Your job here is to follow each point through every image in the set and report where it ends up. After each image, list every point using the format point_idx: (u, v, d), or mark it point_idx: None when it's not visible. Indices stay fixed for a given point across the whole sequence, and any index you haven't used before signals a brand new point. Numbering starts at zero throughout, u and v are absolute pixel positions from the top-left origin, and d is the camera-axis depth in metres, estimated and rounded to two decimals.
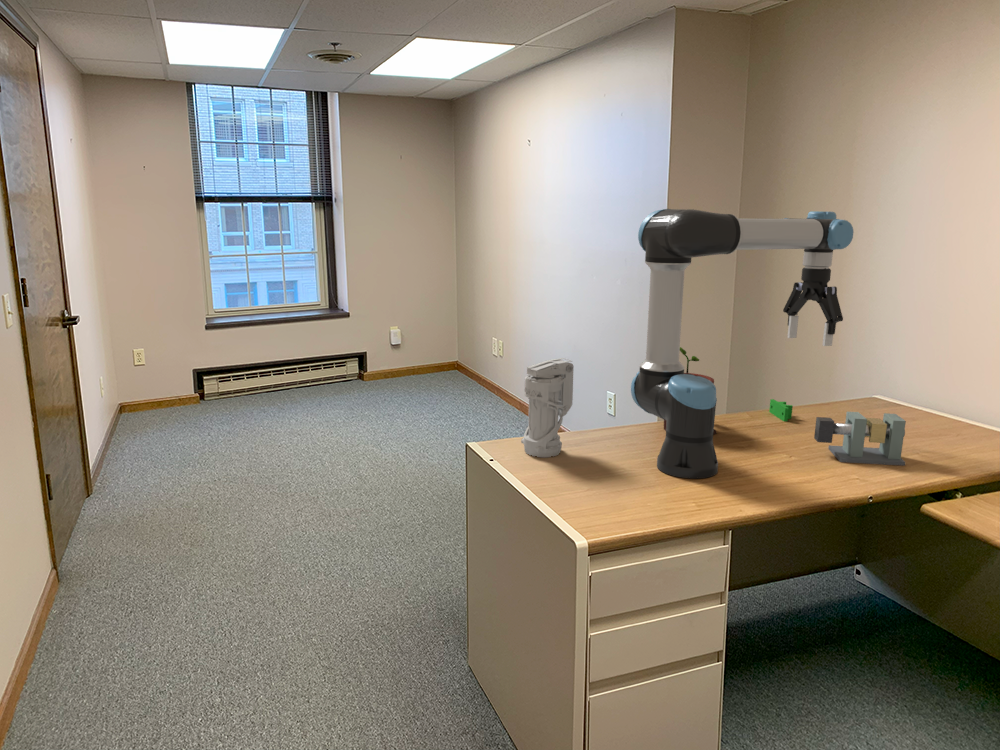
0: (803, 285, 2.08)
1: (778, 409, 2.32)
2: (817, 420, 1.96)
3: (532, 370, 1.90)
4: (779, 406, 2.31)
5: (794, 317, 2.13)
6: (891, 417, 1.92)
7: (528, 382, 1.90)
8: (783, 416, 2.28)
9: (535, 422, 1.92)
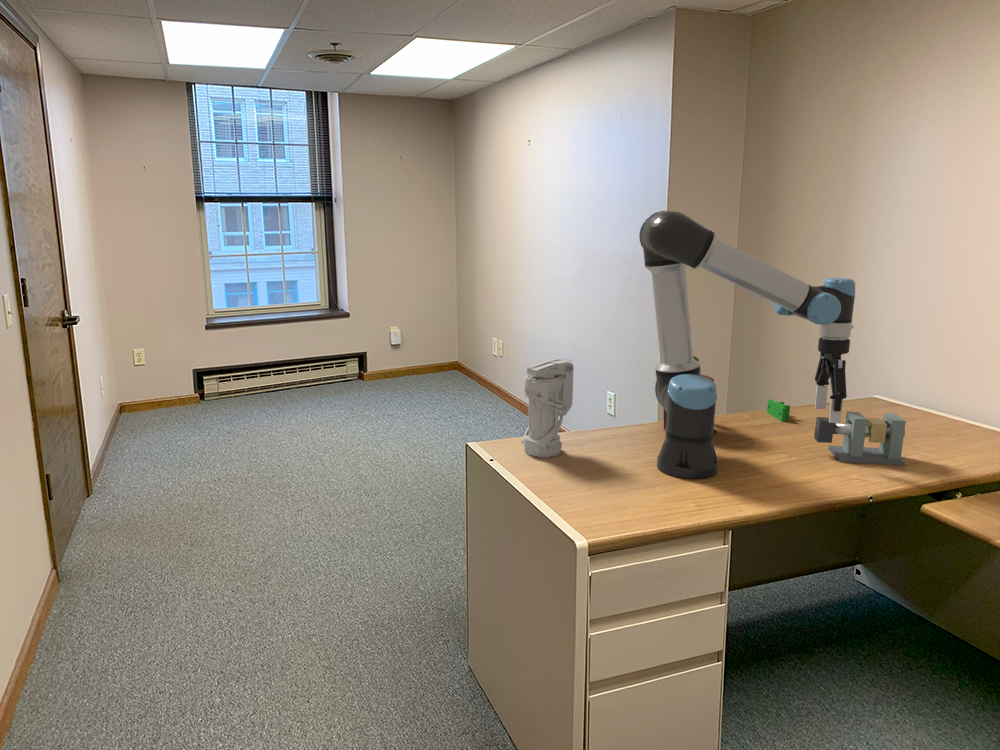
0: (824, 355, 1.94)
1: (775, 409, 2.32)
2: (817, 420, 1.96)
3: (532, 370, 1.90)
4: (776, 406, 2.31)
5: (822, 387, 1.99)
6: (891, 417, 1.92)
7: (528, 382, 1.90)
8: (780, 416, 2.28)
9: (535, 422, 1.92)
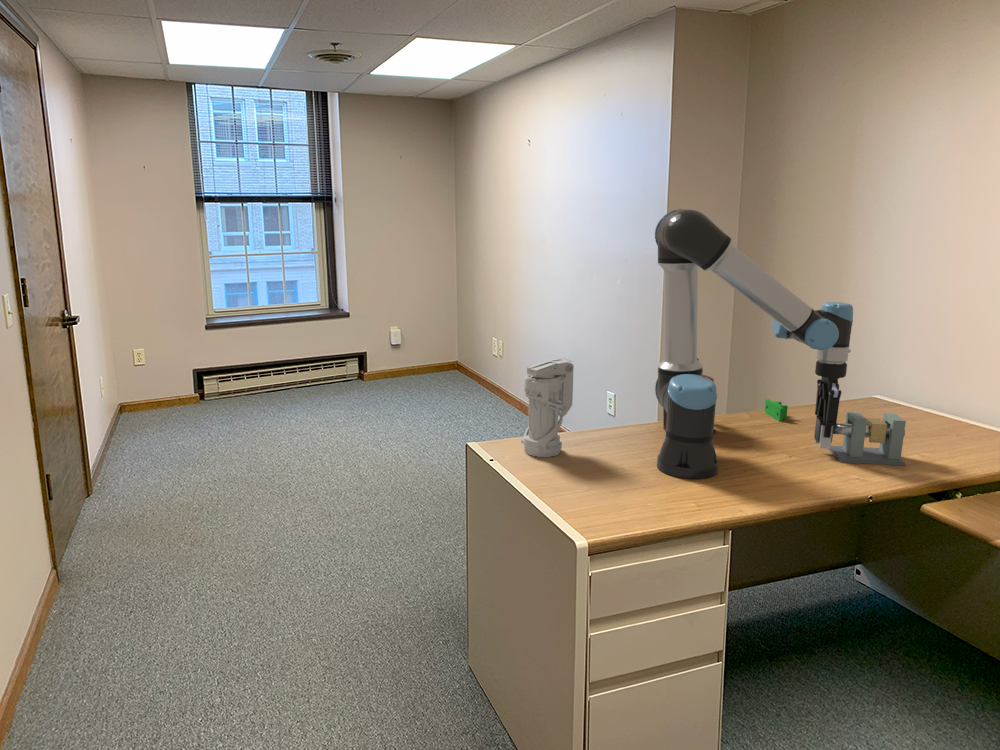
0: (821, 378, 1.96)
1: (773, 409, 2.32)
2: (817, 420, 1.96)
3: (532, 370, 1.90)
4: (774, 406, 2.31)
5: None
6: (891, 417, 1.92)
7: (528, 382, 1.90)
8: (778, 416, 2.28)
9: (535, 422, 1.92)
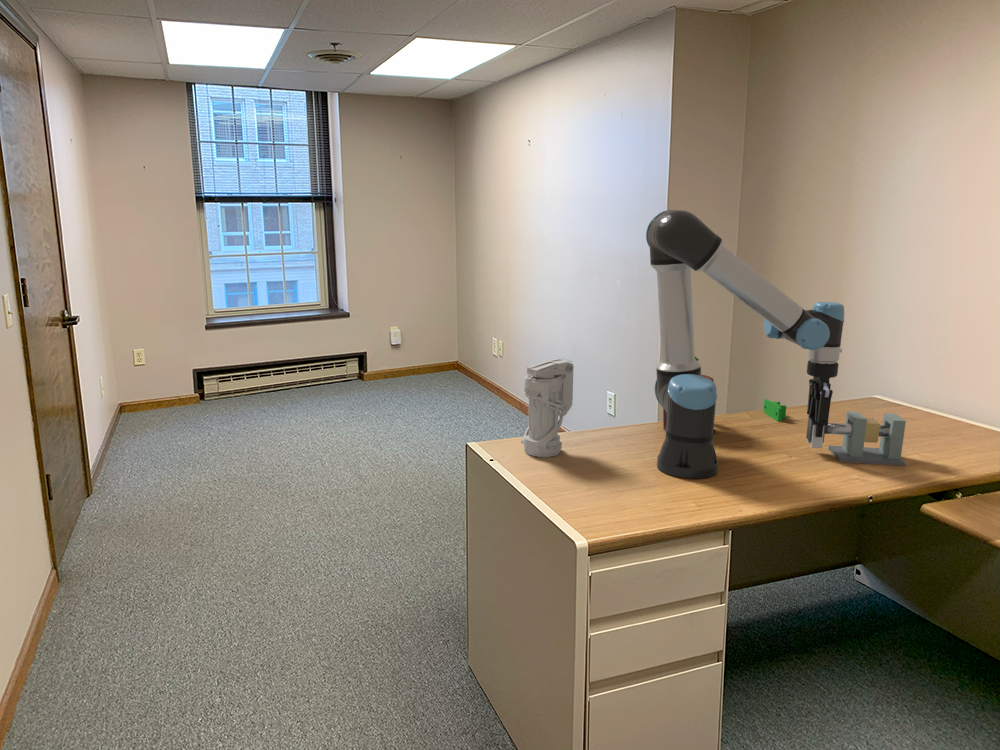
0: (813, 378, 1.96)
1: (772, 409, 2.32)
2: (809, 420, 1.96)
3: (532, 370, 1.90)
4: (773, 406, 2.31)
5: None
6: (891, 417, 1.92)
7: (528, 382, 1.90)
8: (777, 416, 2.28)
9: (535, 422, 1.92)
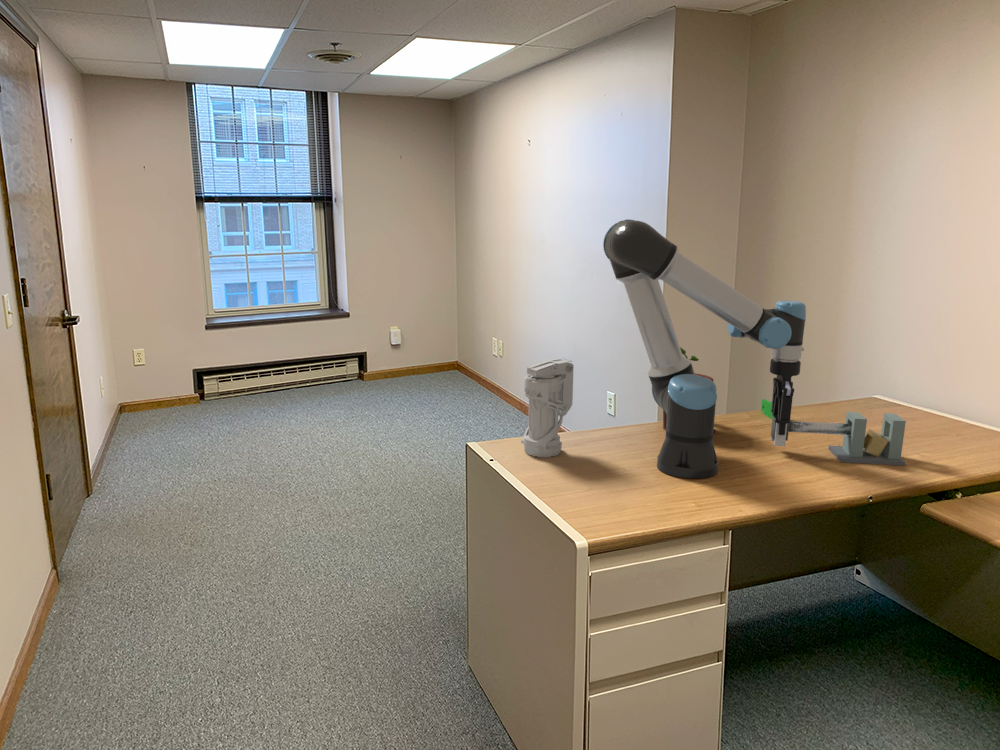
0: None
1: (769, 409, 2.32)
2: (773, 418, 1.97)
3: (532, 370, 1.90)
4: (770, 406, 2.31)
5: None
6: (891, 417, 1.92)
7: (528, 382, 1.90)
8: None
9: (535, 422, 1.92)
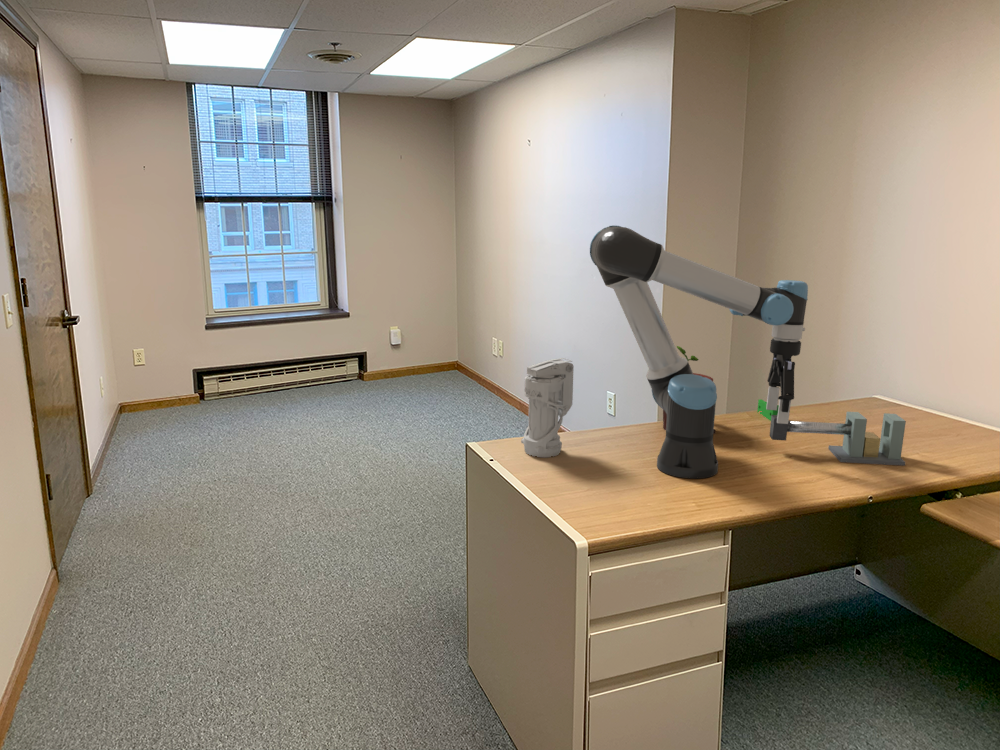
0: (777, 356, 1.96)
1: (766, 409, 2.32)
2: (772, 418, 1.97)
3: (532, 370, 1.90)
4: None
5: (773, 388, 2.01)
6: (891, 417, 1.92)
7: (528, 382, 1.90)
8: None
9: (535, 422, 1.92)
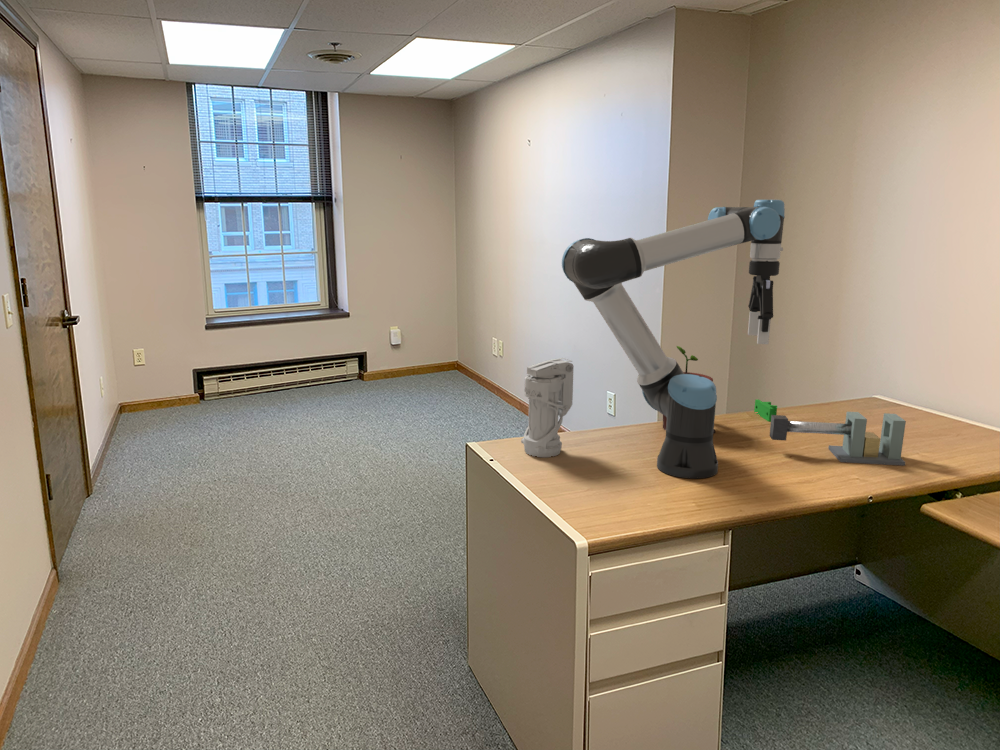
0: (756, 279, 1.95)
1: (762, 409, 2.32)
2: (772, 418, 1.97)
3: (532, 370, 1.90)
4: (764, 406, 2.31)
5: (754, 313, 2.00)
6: (891, 417, 1.92)
7: (528, 382, 1.90)
8: (768, 416, 2.28)
9: (535, 422, 1.92)
